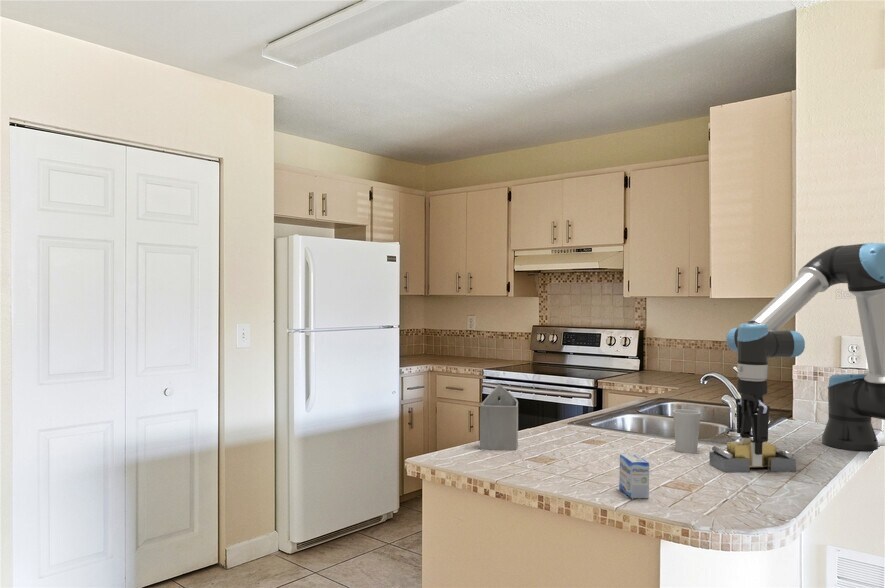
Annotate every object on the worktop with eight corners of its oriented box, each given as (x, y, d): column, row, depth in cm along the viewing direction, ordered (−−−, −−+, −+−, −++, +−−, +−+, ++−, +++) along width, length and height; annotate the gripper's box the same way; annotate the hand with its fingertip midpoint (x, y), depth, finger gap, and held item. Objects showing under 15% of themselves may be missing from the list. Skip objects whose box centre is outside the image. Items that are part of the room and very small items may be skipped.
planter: (496, 454, 189) (497, 389, 189) (479, 449, 195) (479, 386, 195) (534, 446, 199) (534, 384, 199) (516, 442, 205) (516, 382, 205)
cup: (702, 454, 190) (703, 414, 190) (674, 452, 192) (675, 413, 192) (697, 448, 198) (697, 410, 198) (670, 446, 200) (671, 408, 200)
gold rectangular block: (766, 463, 178) (766, 441, 178) (775, 466, 174) (775, 445, 174) (726, 463, 177) (726, 442, 177) (734, 467, 173) (735, 445, 173)
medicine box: (618, 489, 155) (618, 453, 155) (636, 488, 155) (636, 453, 155) (631, 499, 147) (631, 462, 147) (649, 499, 147) (649, 462, 147)
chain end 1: (733, 463, 180) (733, 445, 180) (749, 472, 171) (749, 453, 171) (709, 463, 179) (709, 445, 179) (724, 472, 171) (724, 453, 171)
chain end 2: (777, 463, 180) (777, 445, 180) (795, 471, 172) (796, 452, 172) (753, 463, 180) (753, 445, 180) (771, 471, 171) (771, 453, 171)
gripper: (723, 375, 184) (722, 455, 184) (756, 383, 167) (755, 472, 167) (748, 375, 184) (747, 455, 184) (783, 383, 167) (783, 471, 167)
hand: (751, 463), depth 175 cm, fingers closed on gold rectangular block, 4 cm apart
